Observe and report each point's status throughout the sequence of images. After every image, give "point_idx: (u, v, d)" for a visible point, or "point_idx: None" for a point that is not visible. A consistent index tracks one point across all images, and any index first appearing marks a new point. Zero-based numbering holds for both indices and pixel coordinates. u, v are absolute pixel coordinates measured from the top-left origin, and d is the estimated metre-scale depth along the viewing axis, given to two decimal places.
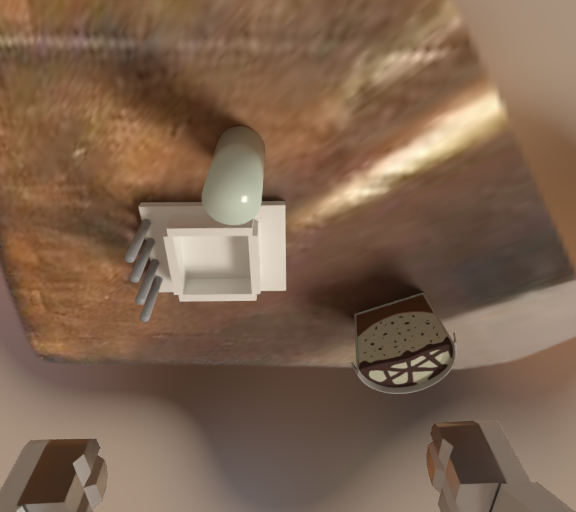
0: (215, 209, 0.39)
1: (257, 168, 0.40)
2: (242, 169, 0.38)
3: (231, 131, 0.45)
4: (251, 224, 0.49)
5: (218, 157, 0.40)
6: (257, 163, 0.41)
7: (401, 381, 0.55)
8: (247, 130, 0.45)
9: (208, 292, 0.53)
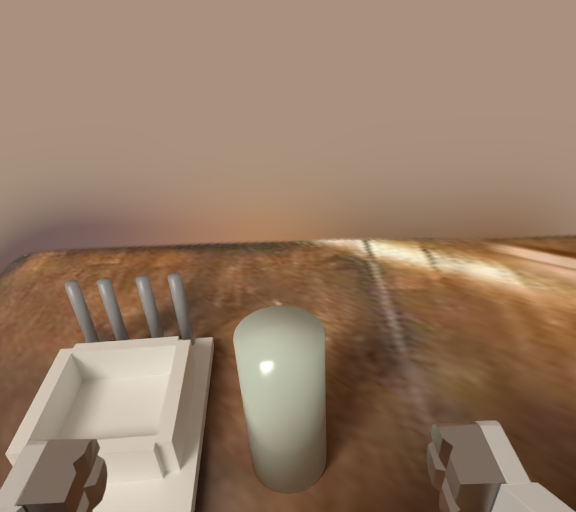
0: (262, 318, 0.26)
1: (308, 402, 0.25)
2: (323, 356, 0.25)
3: None
4: (173, 446, 0.28)
5: None
6: (310, 413, 0.25)
7: None
8: (325, 458, 0.30)
9: (58, 386, 0.32)
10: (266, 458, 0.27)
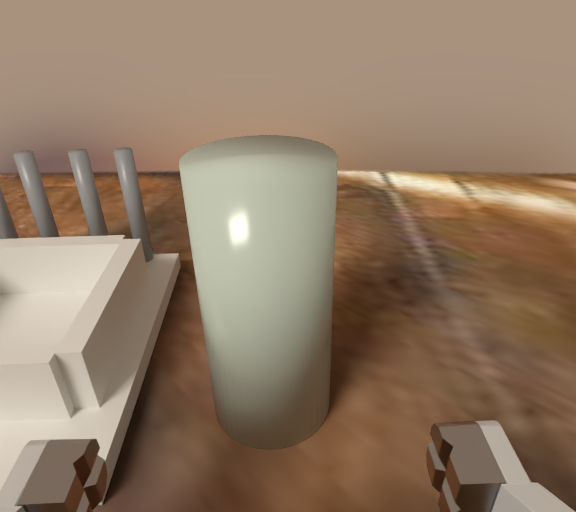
0: (233, 144, 0.16)
1: (305, 277, 0.14)
2: (333, 194, 0.14)
3: None
4: (86, 364, 0.18)
5: None
6: (307, 299, 0.15)
7: None
8: (327, 398, 0.19)
9: None
10: (232, 384, 0.17)
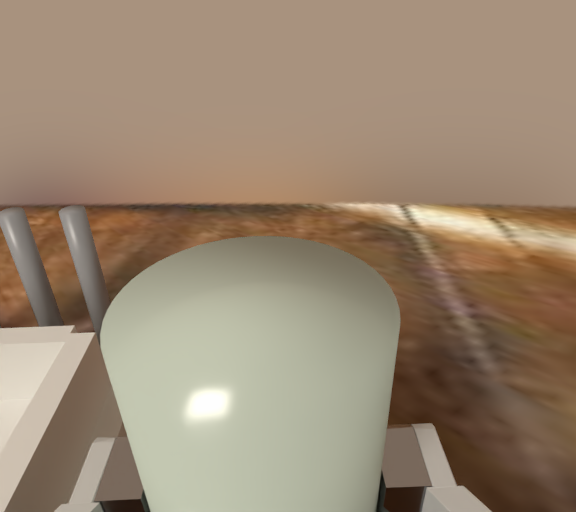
0: (209, 262, 0.09)
1: None
2: (392, 381, 0.08)
3: None
4: None
5: None
6: None
7: None
8: None
9: None
10: None
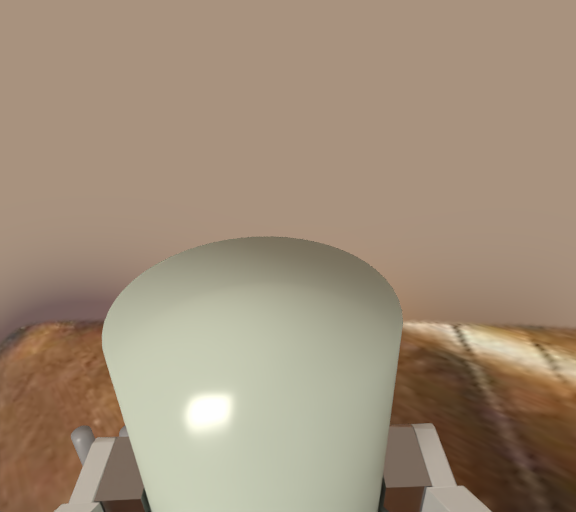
0: (210, 262, 0.09)
1: None
2: (394, 381, 0.08)
3: None
4: None
5: None
6: None
7: None
8: None
9: None
10: None
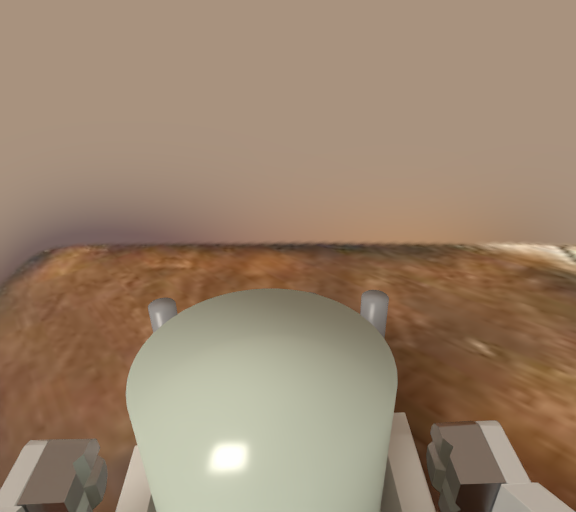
0: (221, 317, 0.10)
1: None
2: None
3: None
4: None
5: None
6: None
7: None
8: None
9: None
10: None
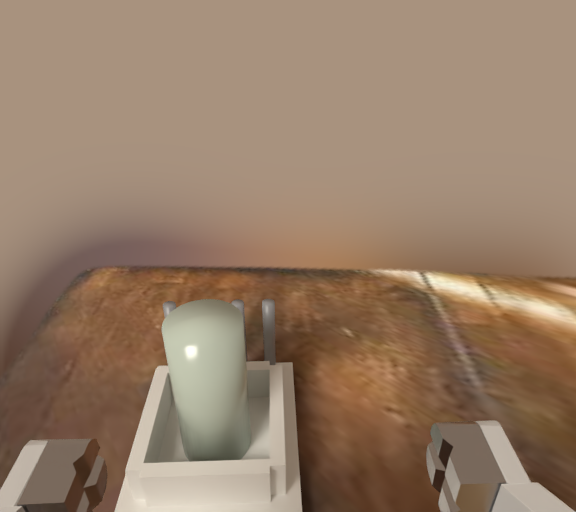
0: (191, 308, 0.30)
1: (225, 385, 0.28)
2: (239, 344, 0.28)
3: None
4: (285, 470, 0.29)
5: None
6: (227, 395, 0.29)
7: None
8: (247, 440, 0.33)
9: (160, 405, 0.34)
10: (190, 435, 0.30)
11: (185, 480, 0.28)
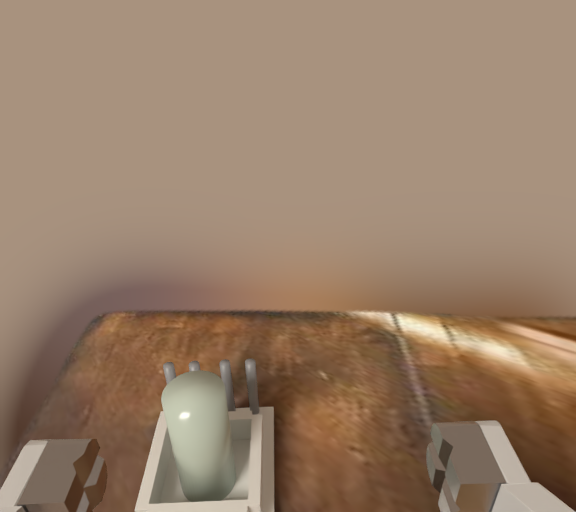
0: (185, 379, 0.38)
1: (211, 441, 0.36)
2: (222, 410, 0.36)
3: None
4: (260, 508, 0.37)
5: None
6: (213, 449, 0.37)
7: None
8: (232, 480, 0.41)
9: (162, 451, 0.41)
10: (185, 478, 0.38)
11: None
